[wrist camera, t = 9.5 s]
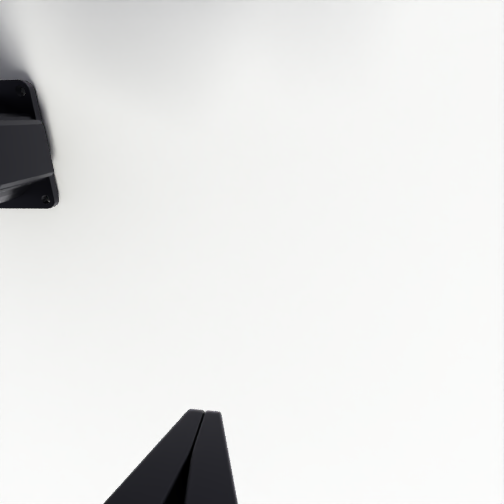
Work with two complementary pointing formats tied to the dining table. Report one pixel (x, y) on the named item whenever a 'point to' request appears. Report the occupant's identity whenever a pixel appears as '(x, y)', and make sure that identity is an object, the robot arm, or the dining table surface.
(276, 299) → the dining table surface
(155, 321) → the dining table surface
